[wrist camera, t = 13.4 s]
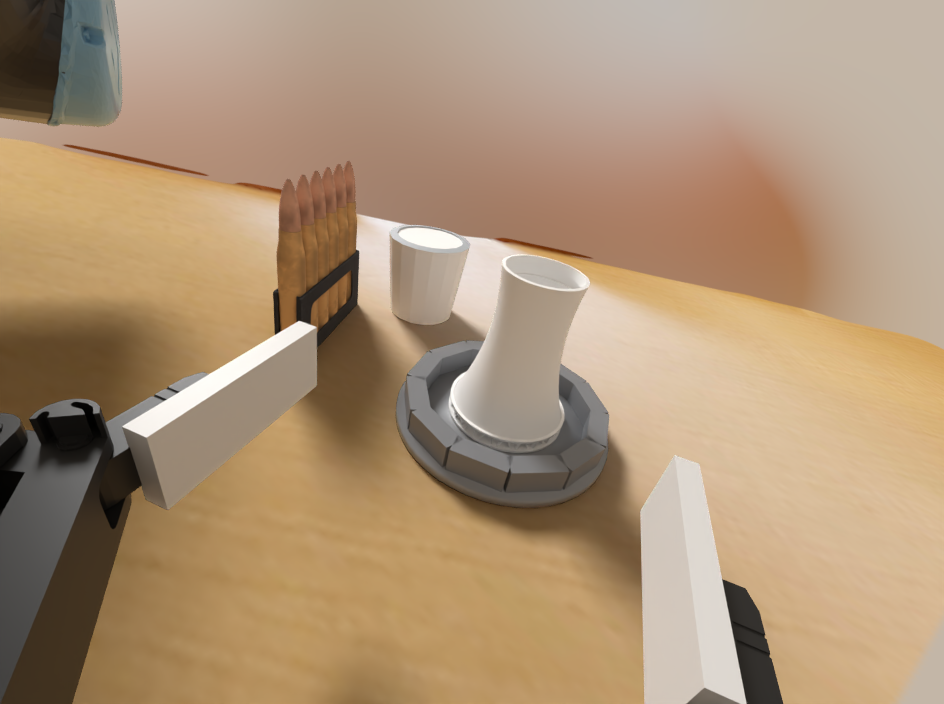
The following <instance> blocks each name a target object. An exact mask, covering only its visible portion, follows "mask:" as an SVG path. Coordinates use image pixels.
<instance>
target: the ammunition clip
mask: <svg viewBox="0 0 944 704" xmlns="http://www.w3.org/2000/svg"><path fill="white" fill-rule="evenodd" d="M355 211H356V202H355V178H354V173H353V168H352V165H351V162H350V161H347V162H346V165H345V167H344V170H342V167H341V165H340V164H337V166H336V168H335V170H334V173H333V175H332V172H331V170H330V168H329V167H327V168H326V169H325V171H324V174H323V177H322V180H321V177H320V174H319V172H318V171H314V173H313V175H312V178H311V181H310V185H309V183H308V180H307V179H306V176H305V175H301V176H300V179H299V181H298V184H297V188H296V191H295V188H294V186H293V184H292V182H291V180H290V179H287V180H286V181H285V183H284V186H283V189H282V193H281V198H280V205H279V242H278V247H277V274H278V289H276V290H275V291H274V292H273V299H274V323H275V335H276V334H278V333H279V332H281V331H283V330H284V329H286V328H288V327H289V326H291V325H293V324H295V323H296V322H298V321H301V322H304V323H307V324H310V325H312V326H315V327H317V348H318V347H319V346H320V344H321V343H322V342H323V341H324V340H325V339H326V338H327V337H328V336H329V335H330V333H331V332H332V331H333V330H334V329H335V328H336V327H337V326H338V325H339V324H340V322H341V321H342V320H343V319H344V318H345V317H346V316H347V315H348V314H349V313H350V311H351V310H352V309H353V308H354V307H355V306H356V305H357V299H358V270H359V251H358V250H356V235H357V217H356V212H355Z"/></svg>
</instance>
